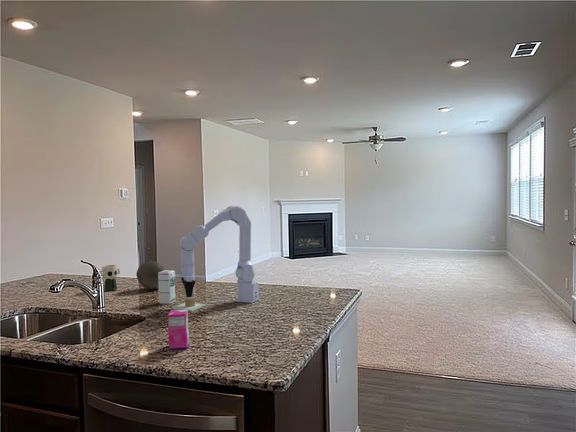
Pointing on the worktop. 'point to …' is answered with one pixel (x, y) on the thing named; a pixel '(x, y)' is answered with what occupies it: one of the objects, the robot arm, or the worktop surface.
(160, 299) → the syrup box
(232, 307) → the worktop surface
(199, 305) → the green white square tile
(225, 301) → the worktop surface
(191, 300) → the sprinkles bottle
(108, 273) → the character mug
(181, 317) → the supplement box
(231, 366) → the worktop surface
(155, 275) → the cantaloupe
